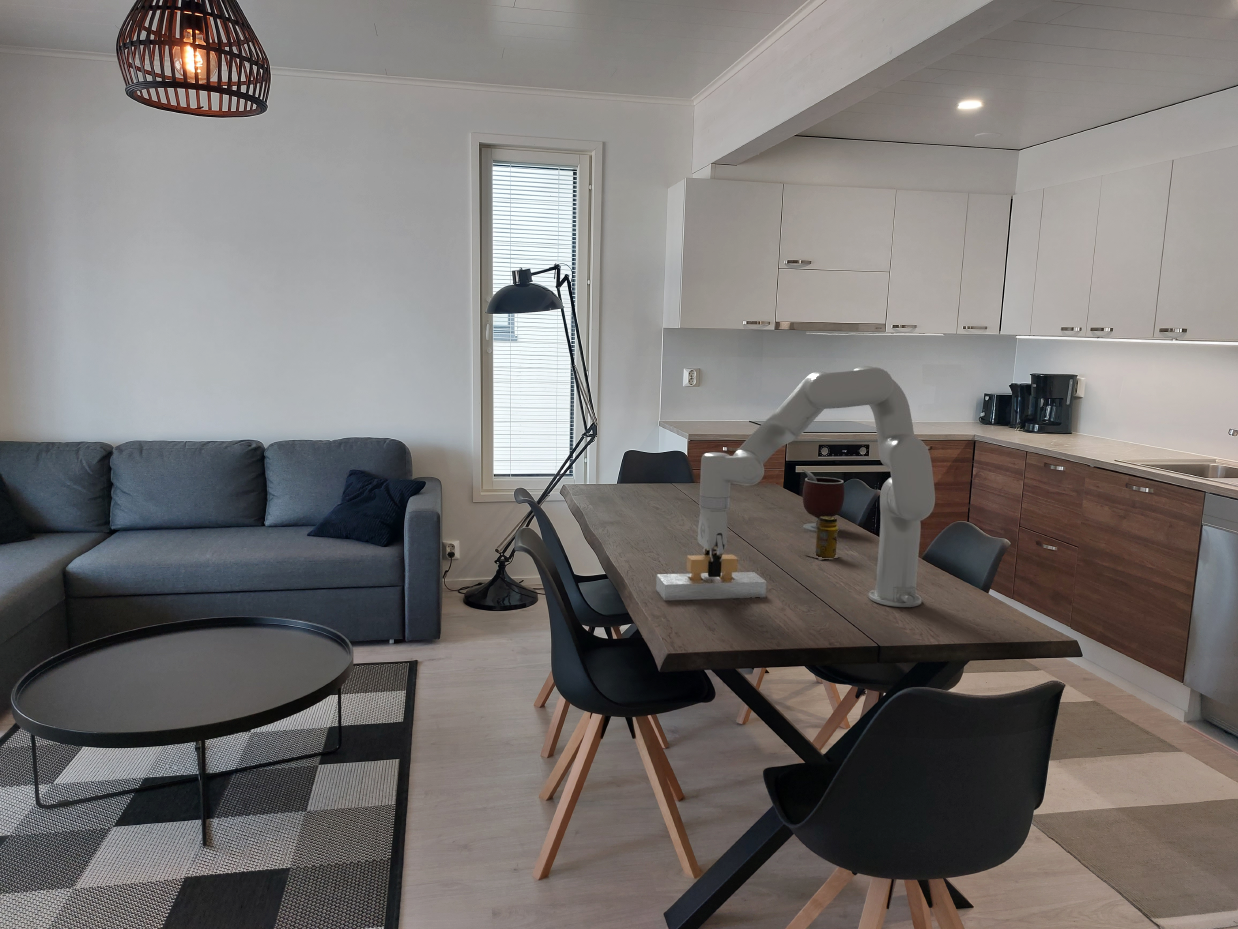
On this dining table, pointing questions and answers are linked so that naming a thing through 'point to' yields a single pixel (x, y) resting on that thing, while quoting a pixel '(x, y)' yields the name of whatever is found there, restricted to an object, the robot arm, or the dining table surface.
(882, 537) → the robot arm
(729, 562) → the tan wooden block
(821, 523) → the condiment
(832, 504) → the mate gourd
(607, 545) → the dining table surface
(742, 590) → the white flat block
